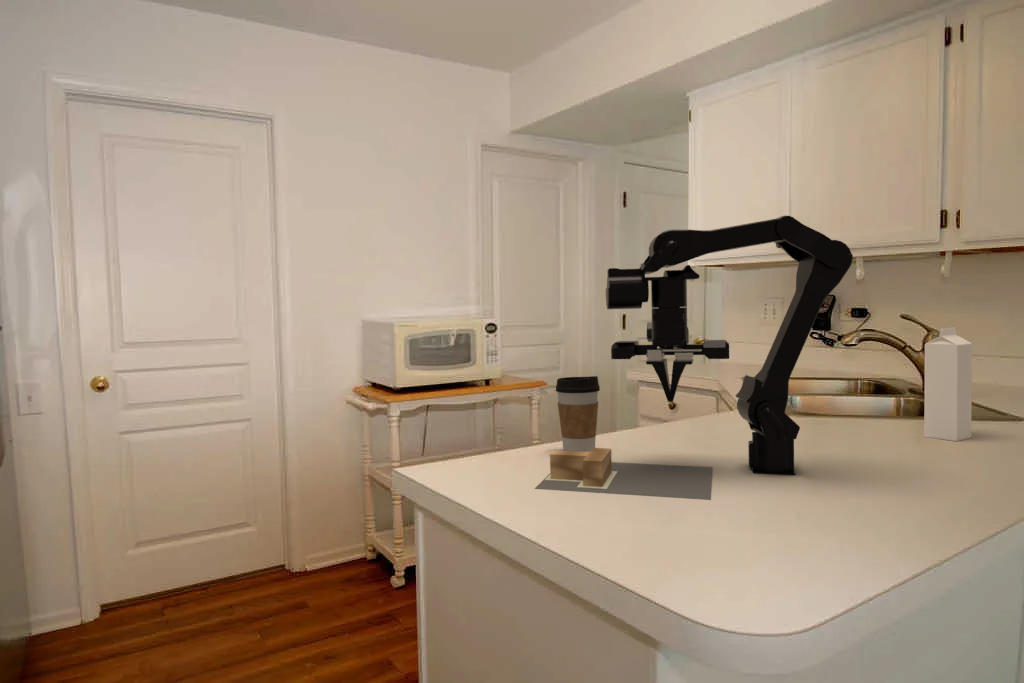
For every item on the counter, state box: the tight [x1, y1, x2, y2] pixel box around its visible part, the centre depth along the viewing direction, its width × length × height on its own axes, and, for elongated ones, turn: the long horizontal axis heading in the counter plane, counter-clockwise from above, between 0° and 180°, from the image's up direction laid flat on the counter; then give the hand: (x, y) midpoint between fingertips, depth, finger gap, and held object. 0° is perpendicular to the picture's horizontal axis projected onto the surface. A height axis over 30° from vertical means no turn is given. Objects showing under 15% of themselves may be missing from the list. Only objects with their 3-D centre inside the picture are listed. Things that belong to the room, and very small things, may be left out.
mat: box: [534, 461, 714, 501], centre depth 104 cm, size 26×19×1 cm
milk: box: [923, 326, 973, 442], centre depth 128 cm, size 6×6×22 cm
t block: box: [549, 447, 613, 487], centre depth 104 cm, size 9×9×4 cm
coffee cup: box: [555, 375, 601, 452], centre depth 122 cm, size 8×8×15 cm
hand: (670, 401), depth 107 cm, fingers closed
